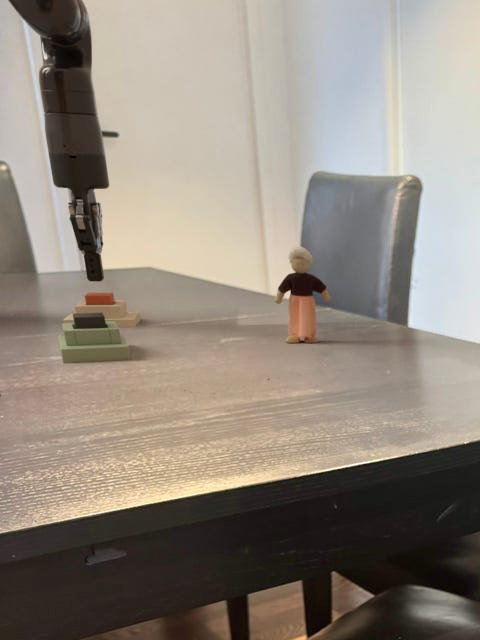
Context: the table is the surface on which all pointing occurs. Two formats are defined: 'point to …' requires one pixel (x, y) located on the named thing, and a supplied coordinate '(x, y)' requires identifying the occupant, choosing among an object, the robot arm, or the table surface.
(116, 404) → the table surface
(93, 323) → the key front
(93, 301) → the key back
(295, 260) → the grandmother figurine
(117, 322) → the beige stepped base
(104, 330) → the green stepped pyramid
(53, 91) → the robot arm
